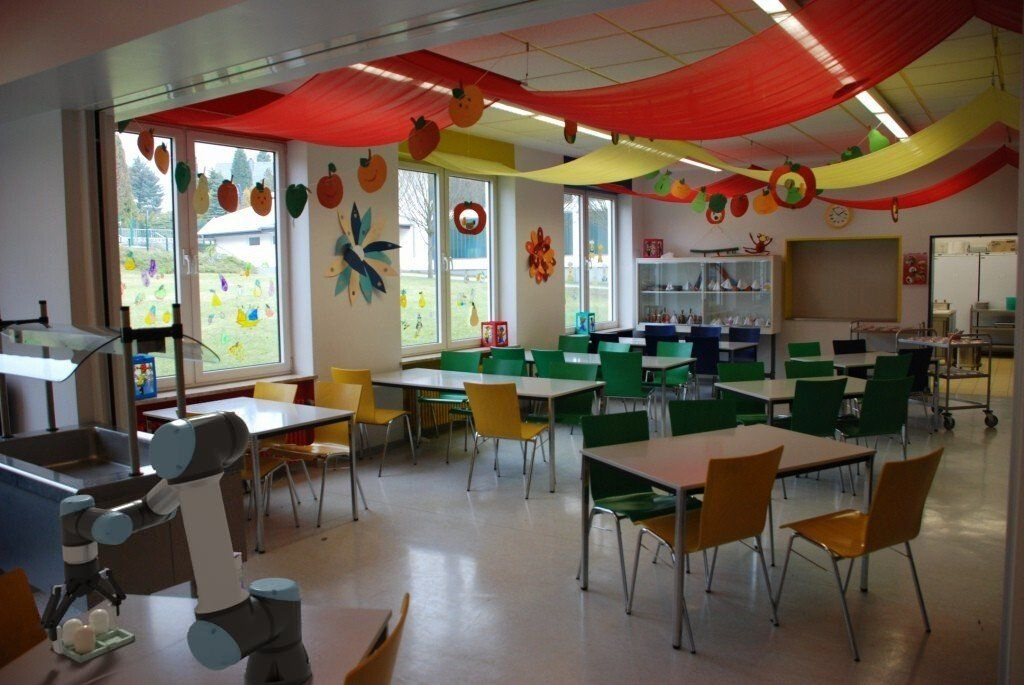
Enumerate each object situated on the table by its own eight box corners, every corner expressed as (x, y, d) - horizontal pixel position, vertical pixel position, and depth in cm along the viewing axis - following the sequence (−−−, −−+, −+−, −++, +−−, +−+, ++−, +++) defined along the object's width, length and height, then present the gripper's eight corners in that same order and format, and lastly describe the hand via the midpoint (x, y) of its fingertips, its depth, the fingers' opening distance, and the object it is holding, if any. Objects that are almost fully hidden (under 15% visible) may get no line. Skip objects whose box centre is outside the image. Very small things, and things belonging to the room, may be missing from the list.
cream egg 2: (113, 633, 205) (111, 608, 204) (95, 640, 201) (93, 615, 200) (103, 629, 207) (102, 604, 206) (86, 636, 203) (84, 610, 203)
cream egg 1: (87, 644, 199) (86, 618, 198) (69, 651, 195) (67, 625, 195) (78, 639, 202) (76, 613, 201) (60, 646, 198) (58, 620, 197)
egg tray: (135, 641, 201) (134, 635, 201) (80, 665, 190) (79, 658, 190) (106, 627, 209) (105, 621, 209) (51, 649, 198) (51, 642, 197)
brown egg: (99, 651, 195) (97, 624, 195) (81, 658, 192) (79, 631, 191) (90, 646, 198) (88, 620, 197) (71, 653, 194) (69, 627, 193)
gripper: (121, 540, 205) (126, 617, 207) (19, 572, 184) (25, 657, 186) (137, 545, 200) (142, 624, 203) (34, 579, 180) (41, 666, 182)
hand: (86, 640), depth 194 cm, fingers open, 13 cm apart
